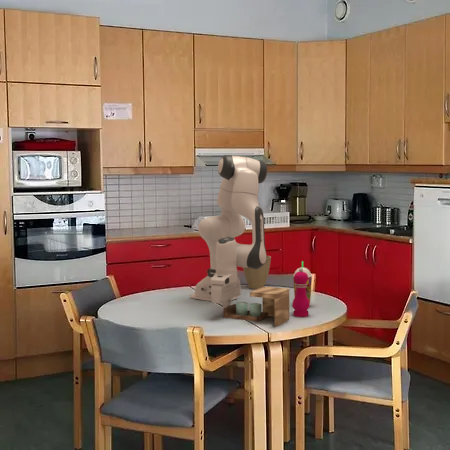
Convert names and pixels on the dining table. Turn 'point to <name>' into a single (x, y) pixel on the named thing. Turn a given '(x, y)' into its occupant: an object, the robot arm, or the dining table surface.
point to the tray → (231, 313)
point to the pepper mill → (300, 295)
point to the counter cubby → (274, 302)
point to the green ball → (242, 308)
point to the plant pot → (257, 275)
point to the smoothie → (308, 288)
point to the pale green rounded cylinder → (255, 310)
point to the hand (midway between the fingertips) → (226, 310)
